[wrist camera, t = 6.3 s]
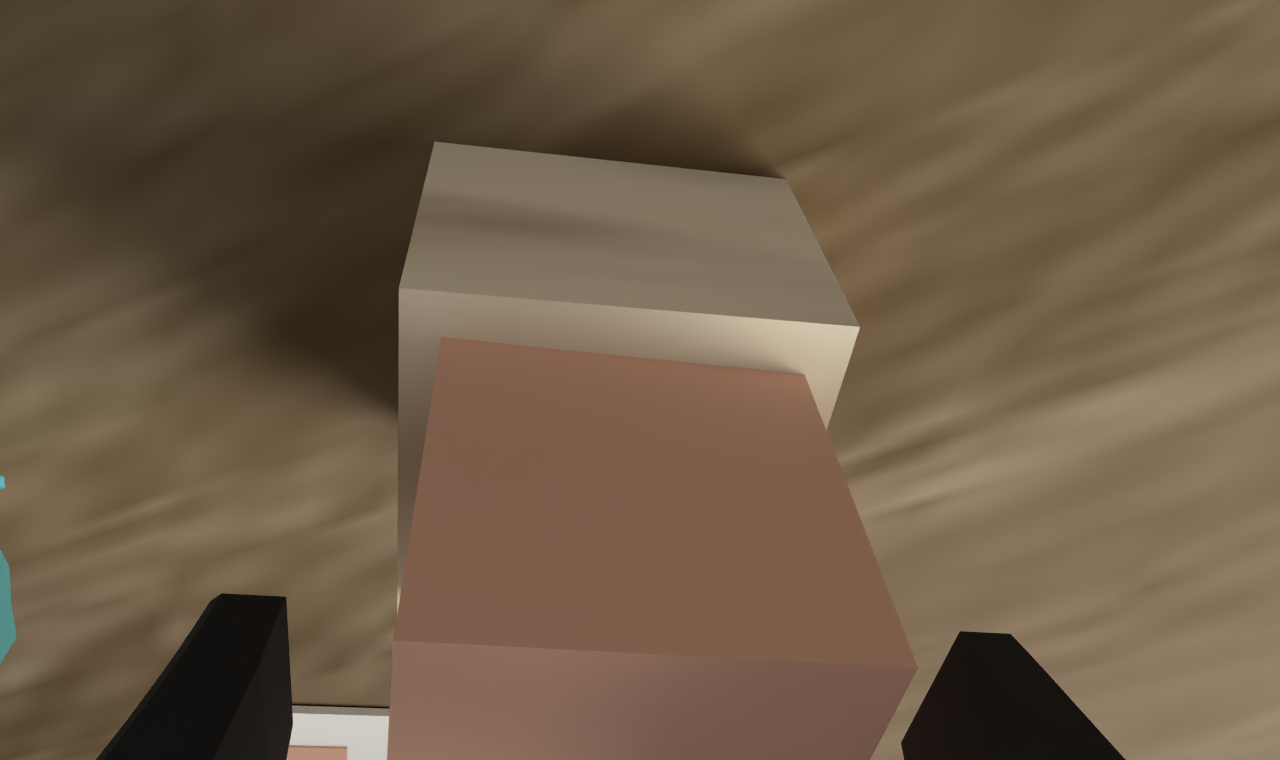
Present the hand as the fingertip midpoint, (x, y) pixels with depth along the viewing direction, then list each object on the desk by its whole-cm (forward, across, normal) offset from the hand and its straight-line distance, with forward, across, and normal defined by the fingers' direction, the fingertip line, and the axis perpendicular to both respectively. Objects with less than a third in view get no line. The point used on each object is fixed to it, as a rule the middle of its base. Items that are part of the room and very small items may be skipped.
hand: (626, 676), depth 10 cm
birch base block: (+8, 0, 0) cm, 8 cm away
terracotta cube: (+3, 0, 0) cm, 3 cm away
